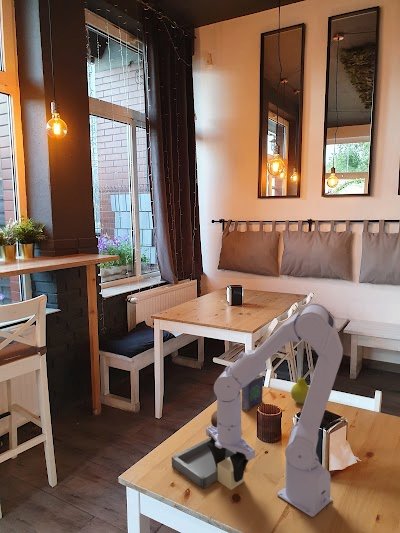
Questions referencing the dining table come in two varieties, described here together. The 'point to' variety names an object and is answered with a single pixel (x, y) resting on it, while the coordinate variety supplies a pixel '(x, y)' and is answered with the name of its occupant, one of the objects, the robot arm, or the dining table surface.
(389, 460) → the dining table surface
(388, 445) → the dining table surface
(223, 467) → the cheese cube
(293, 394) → the fruit
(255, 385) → the flask
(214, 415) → the brown rough rounded lump
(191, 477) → the slate tray
